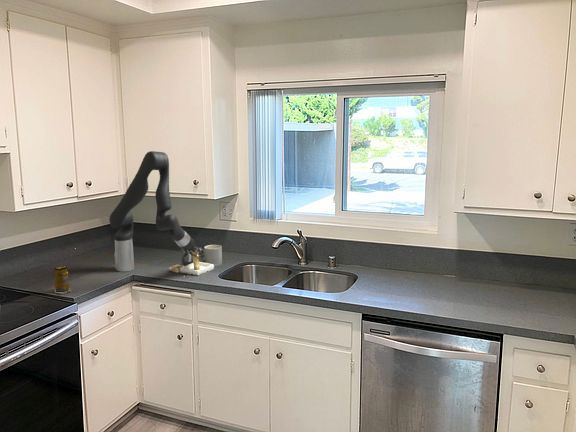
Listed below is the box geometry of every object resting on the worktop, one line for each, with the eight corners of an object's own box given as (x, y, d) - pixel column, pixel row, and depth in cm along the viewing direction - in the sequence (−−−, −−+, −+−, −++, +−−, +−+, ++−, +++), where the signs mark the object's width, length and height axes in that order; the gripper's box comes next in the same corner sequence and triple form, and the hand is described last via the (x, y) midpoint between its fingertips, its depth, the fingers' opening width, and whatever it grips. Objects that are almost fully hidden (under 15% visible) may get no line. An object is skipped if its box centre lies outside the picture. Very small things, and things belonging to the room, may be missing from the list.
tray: (180, 272, 251) (180, 267, 250) (197, 265, 263) (197, 261, 262) (197, 275, 245) (197, 271, 245) (214, 268, 257) (214, 264, 257)
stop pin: (191, 269, 253) (190, 251, 251) (196, 267, 256) (194, 249, 254) (197, 270, 251) (195, 252, 249) (202, 268, 254) (200, 250, 252)
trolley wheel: (181, 267, 260) (180, 251, 258) (189, 264, 266) (188, 248, 264) (186, 268, 258) (185, 251, 256) (194, 265, 264) (193, 248, 262)
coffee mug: (224, 261, 271) (224, 245, 269) (218, 266, 261) (218, 249, 259) (202, 260, 273) (202, 244, 271) (196, 265, 264) (195, 248, 262)
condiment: (67, 287, 227) (65, 264, 225) (74, 291, 222) (72, 267, 219) (51, 291, 222) (49, 267, 220) (58, 295, 216) (56, 271, 214)
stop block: (169, 270, 253) (169, 267, 253) (177, 267, 259) (176, 264, 258) (177, 272, 251) (177, 269, 250) (185, 269, 256) (185, 266, 255)
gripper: (197, 235, 240) (212, 252, 253) (176, 232, 247) (192, 249, 259) (191, 248, 236) (206, 264, 249) (169, 244, 243) (186, 260, 256)
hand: (199, 256), depth 254 cm, fingers open, 5 cm apart
